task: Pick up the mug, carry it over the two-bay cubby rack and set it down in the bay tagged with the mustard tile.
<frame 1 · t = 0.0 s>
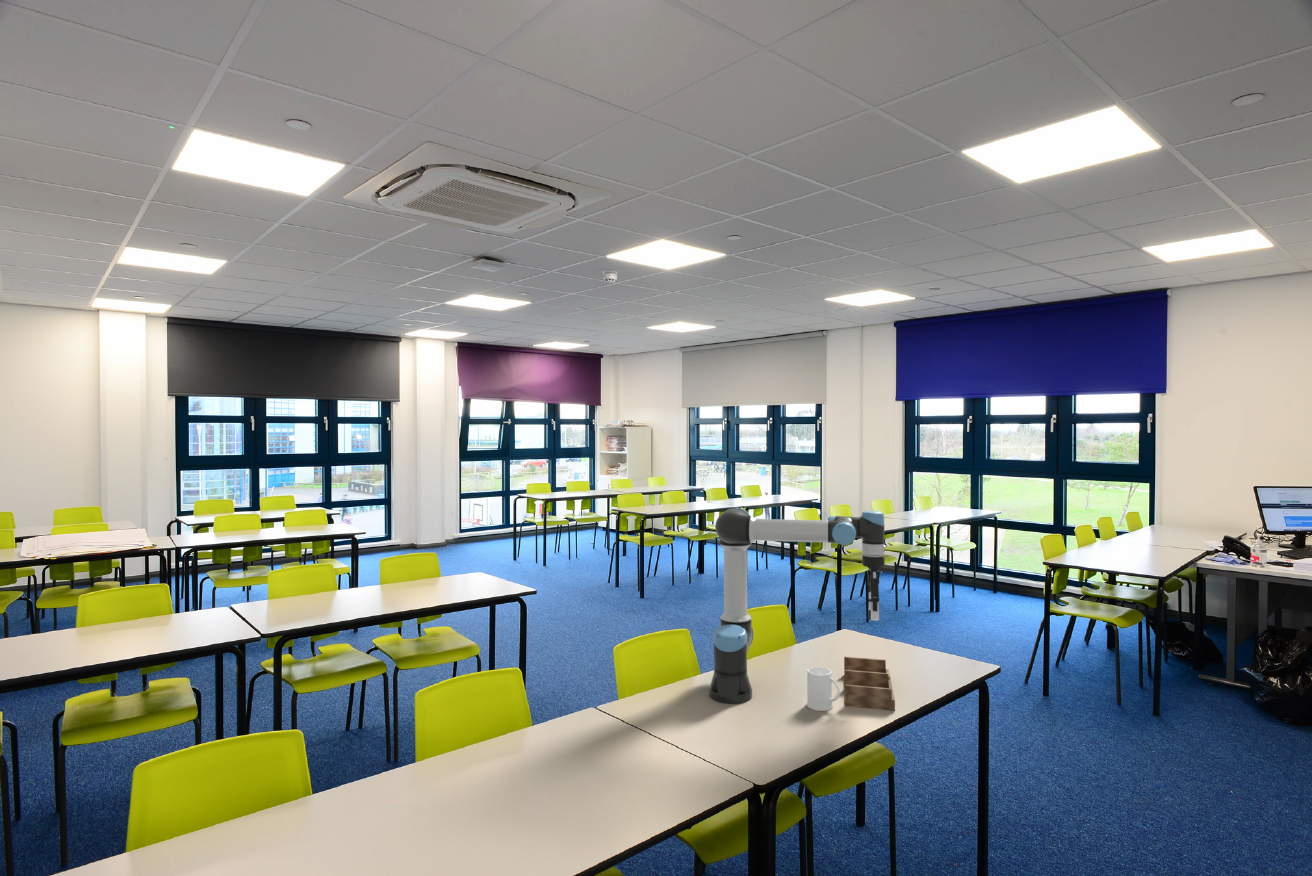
hand: (873, 615, 236), 28 cm above the table, fingers open, 13 cm apart
rack: (867, 691, 238), on the table
mug: (823, 708, 225), on the table
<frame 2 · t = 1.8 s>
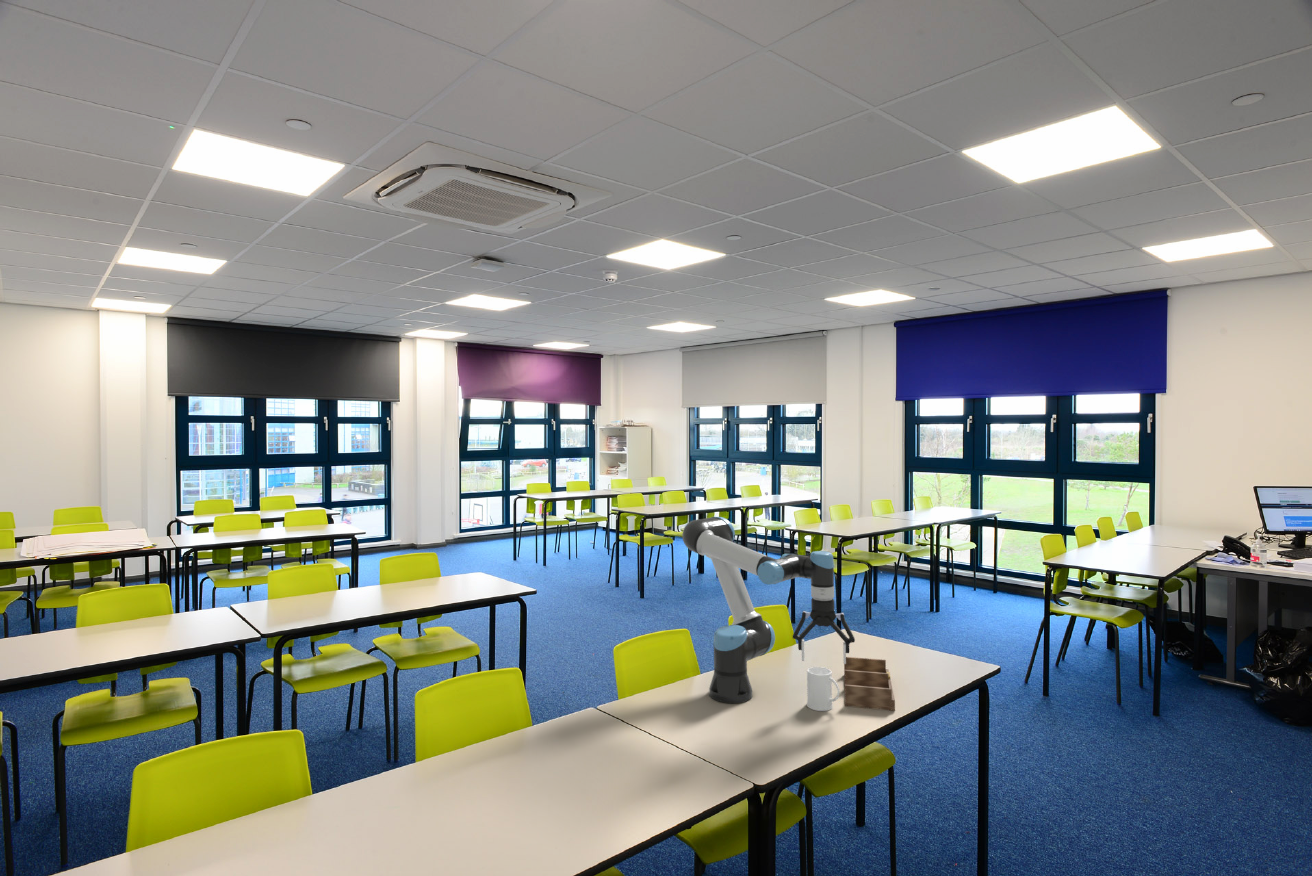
hand: (823, 661, 224), 16 cm above the table, fingers open, 13 cm apart
nothing on the table moved.
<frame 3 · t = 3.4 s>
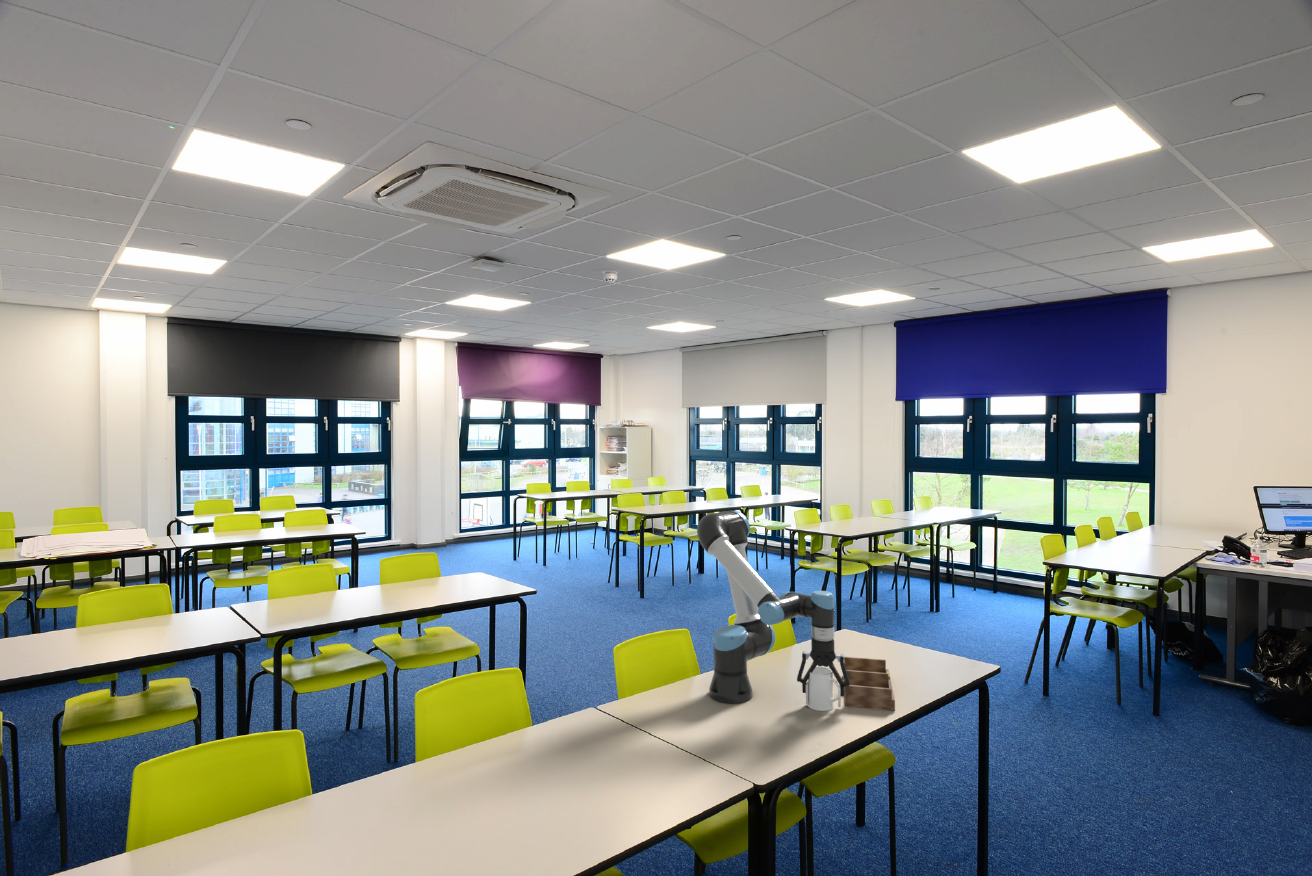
hand: (823, 703, 225), 1 cm above the table, fingers closed on mug, 10 cm apart
mug: (824, 708, 224), on the table, touching gripper
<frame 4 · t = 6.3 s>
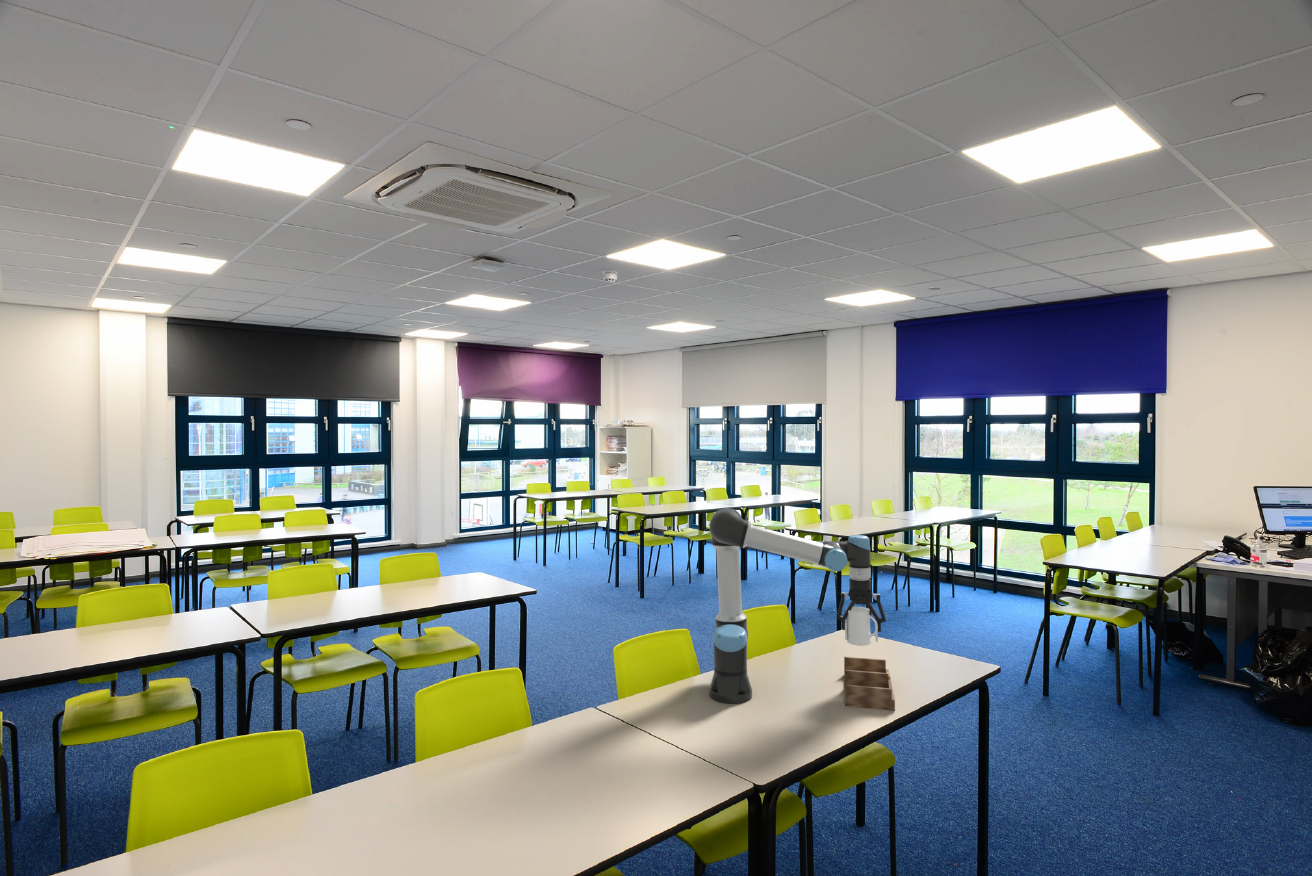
hand: (861, 639, 242), 17 cm above the table, fingers closed on mug, 10 cm apart
mug: (862, 643, 242), point 16 cm above the table, touching gripper
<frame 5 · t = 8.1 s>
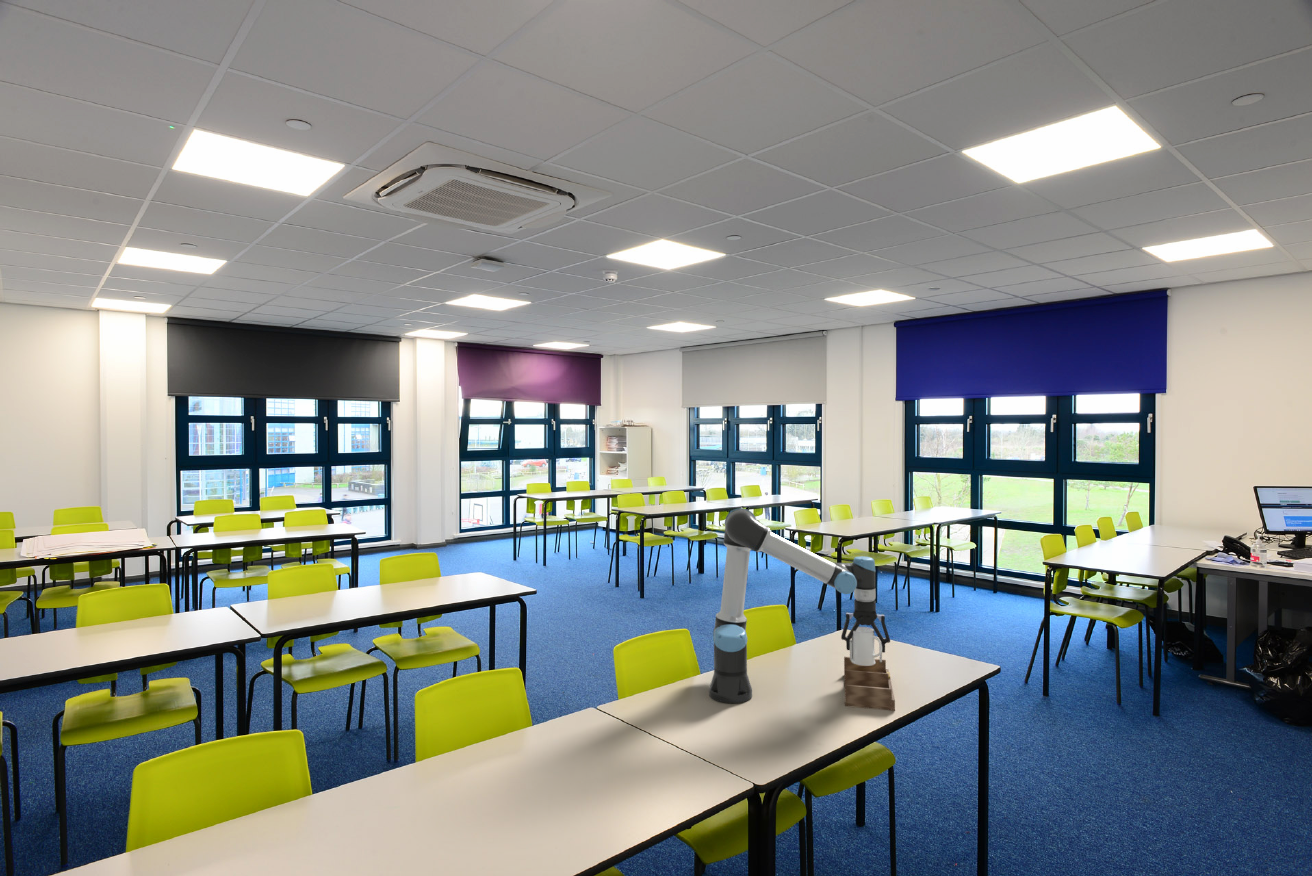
hand: (865, 659, 245), 9 cm above the table, fingers closed on mug, 10 cm apart
mug: (867, 663, 245), point 8 cm above the table, touching gripper
when the fingers open (5 cm above the table, at t = 9.4 s): mug drops 2 cm, resting on rack.
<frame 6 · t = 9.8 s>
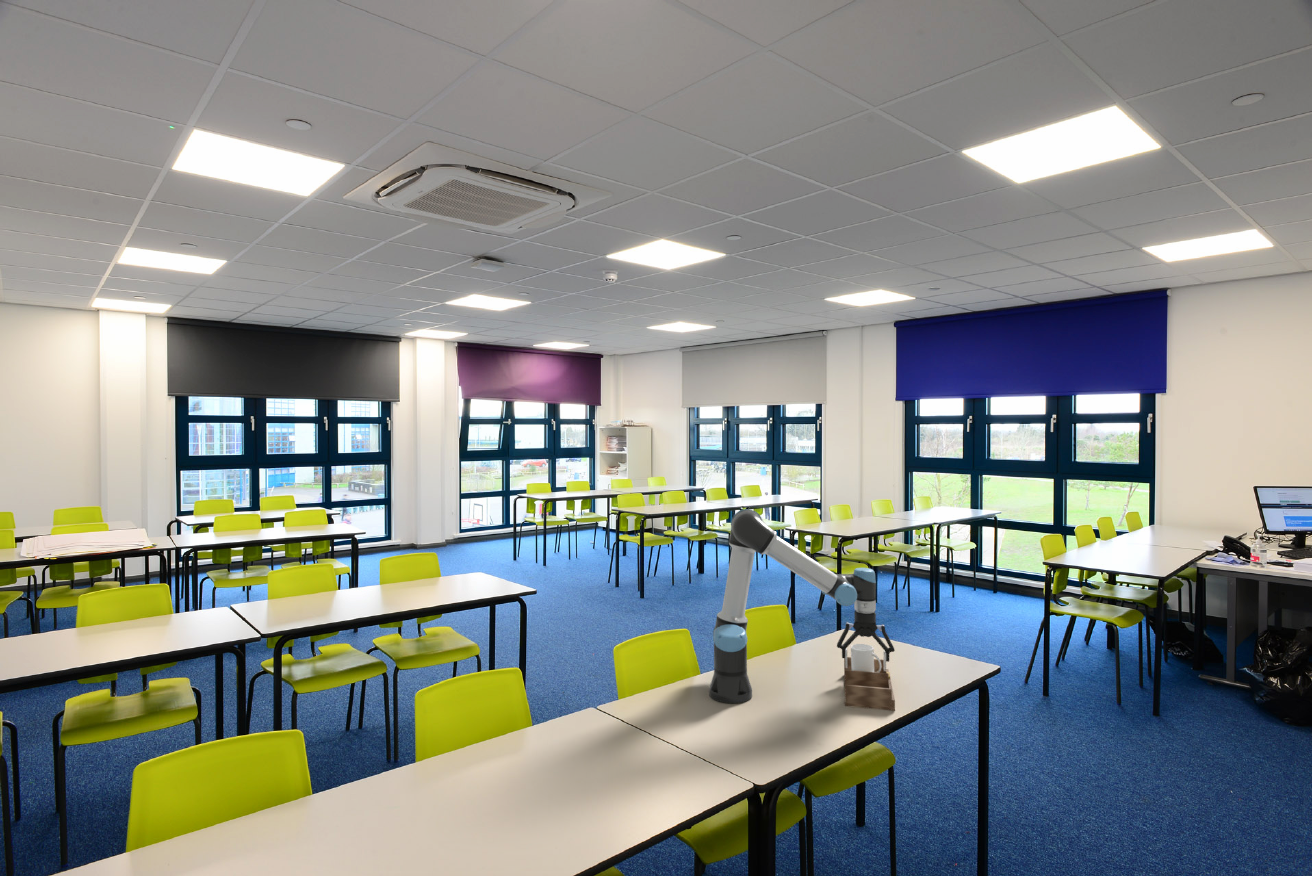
hand: (865, 668, 245), 6 cm above the table, fingers open, 13 cm apart
mug: (866, 681, 245), point 1 cm above the table, touching rack
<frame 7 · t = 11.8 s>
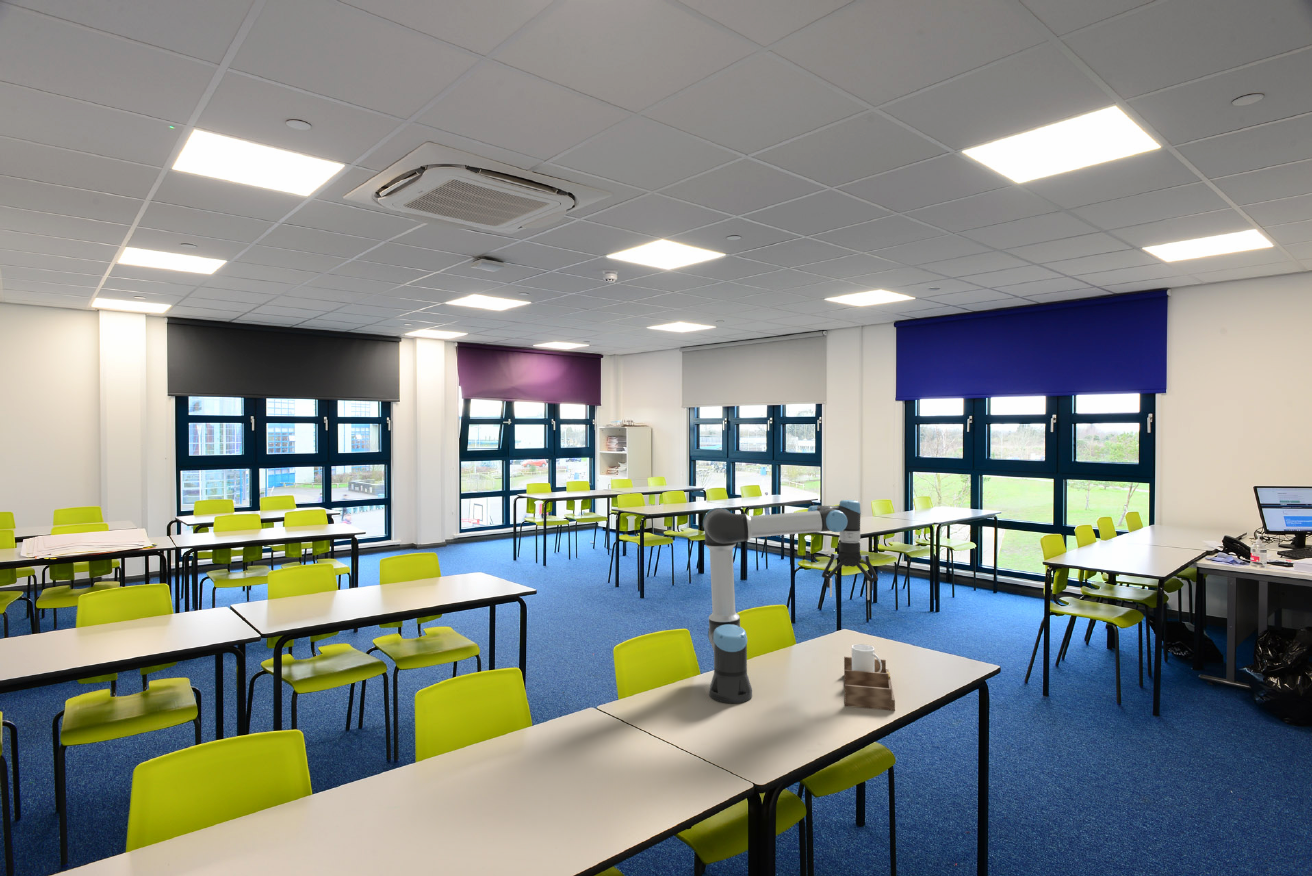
hand: (849, 597, 250), 30 cm above the table, fingers open, 13 cm apart
nothing on the table moved.
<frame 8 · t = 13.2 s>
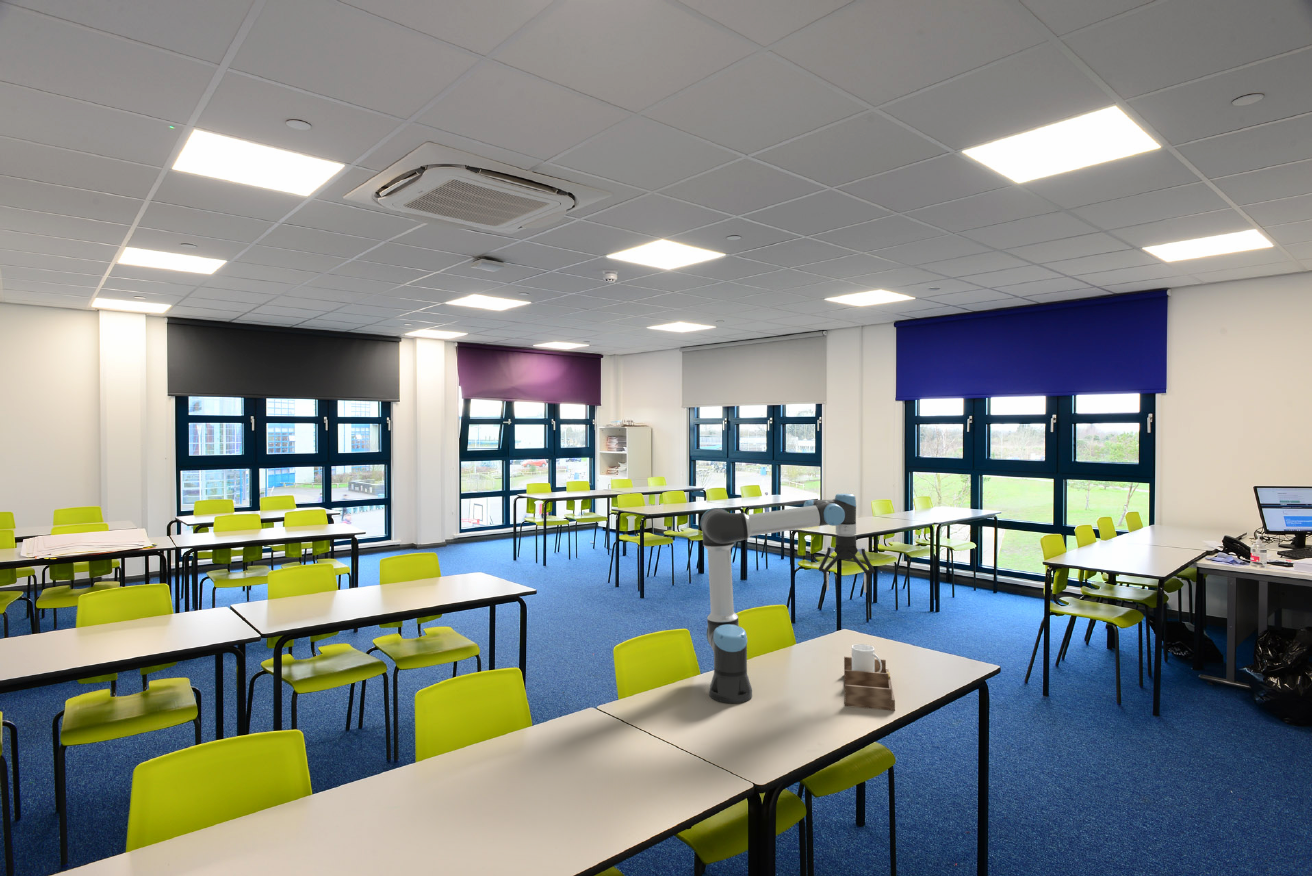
hand: (846, 590, 252), 33 cm above the table, fingers open, 13 cm apart
nothing on the table moved.
at the end: mug inside the target area on the rack (0.6 cm from its centre), point 1.0 cm above the rack's base; mug tilted 0°; the gripper is holding nothing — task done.
